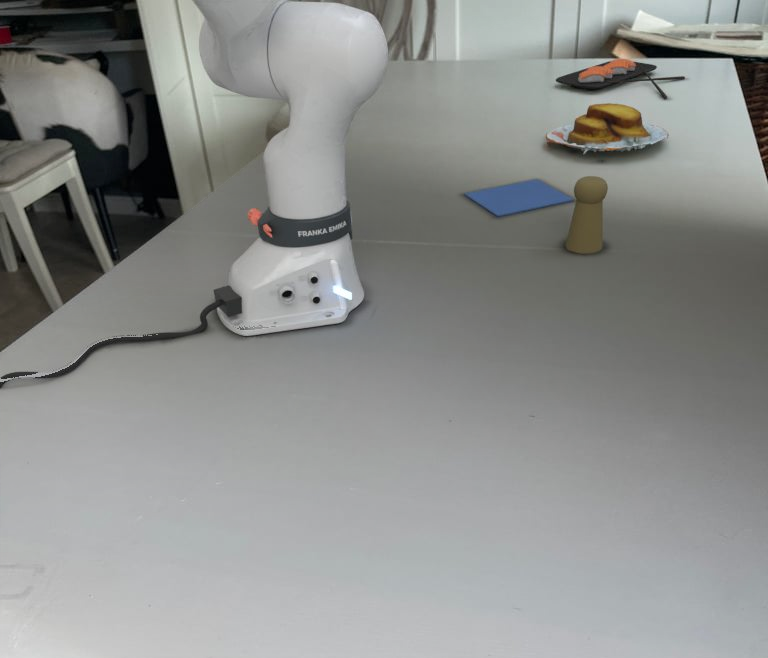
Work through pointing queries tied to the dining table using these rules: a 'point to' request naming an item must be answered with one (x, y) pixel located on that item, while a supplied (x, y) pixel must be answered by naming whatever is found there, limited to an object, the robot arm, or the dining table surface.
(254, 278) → the robot arm
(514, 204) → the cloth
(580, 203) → the brown peg doll
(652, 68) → the sushi plate
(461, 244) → the dining table surface
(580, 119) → the food on plate
